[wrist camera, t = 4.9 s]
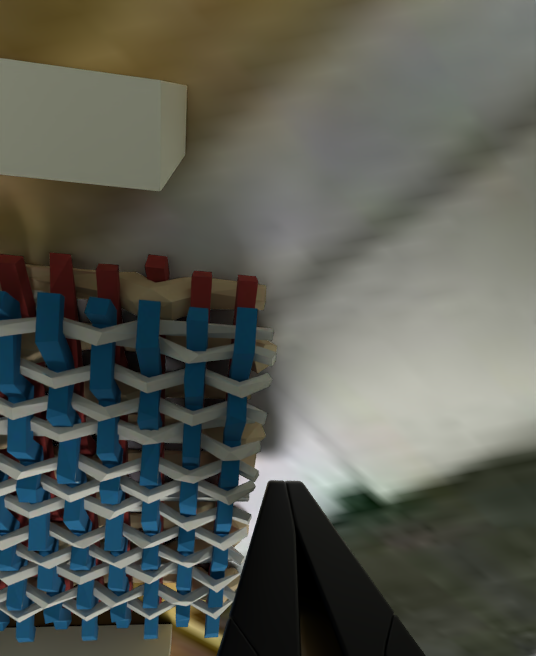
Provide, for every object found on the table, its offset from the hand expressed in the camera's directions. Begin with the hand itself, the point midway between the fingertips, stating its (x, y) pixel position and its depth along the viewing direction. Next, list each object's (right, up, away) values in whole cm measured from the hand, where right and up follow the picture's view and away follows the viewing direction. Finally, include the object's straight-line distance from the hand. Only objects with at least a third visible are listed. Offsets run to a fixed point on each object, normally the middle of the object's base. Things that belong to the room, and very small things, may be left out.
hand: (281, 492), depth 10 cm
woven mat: (-6, +1, +1) cm, 6 cm away
